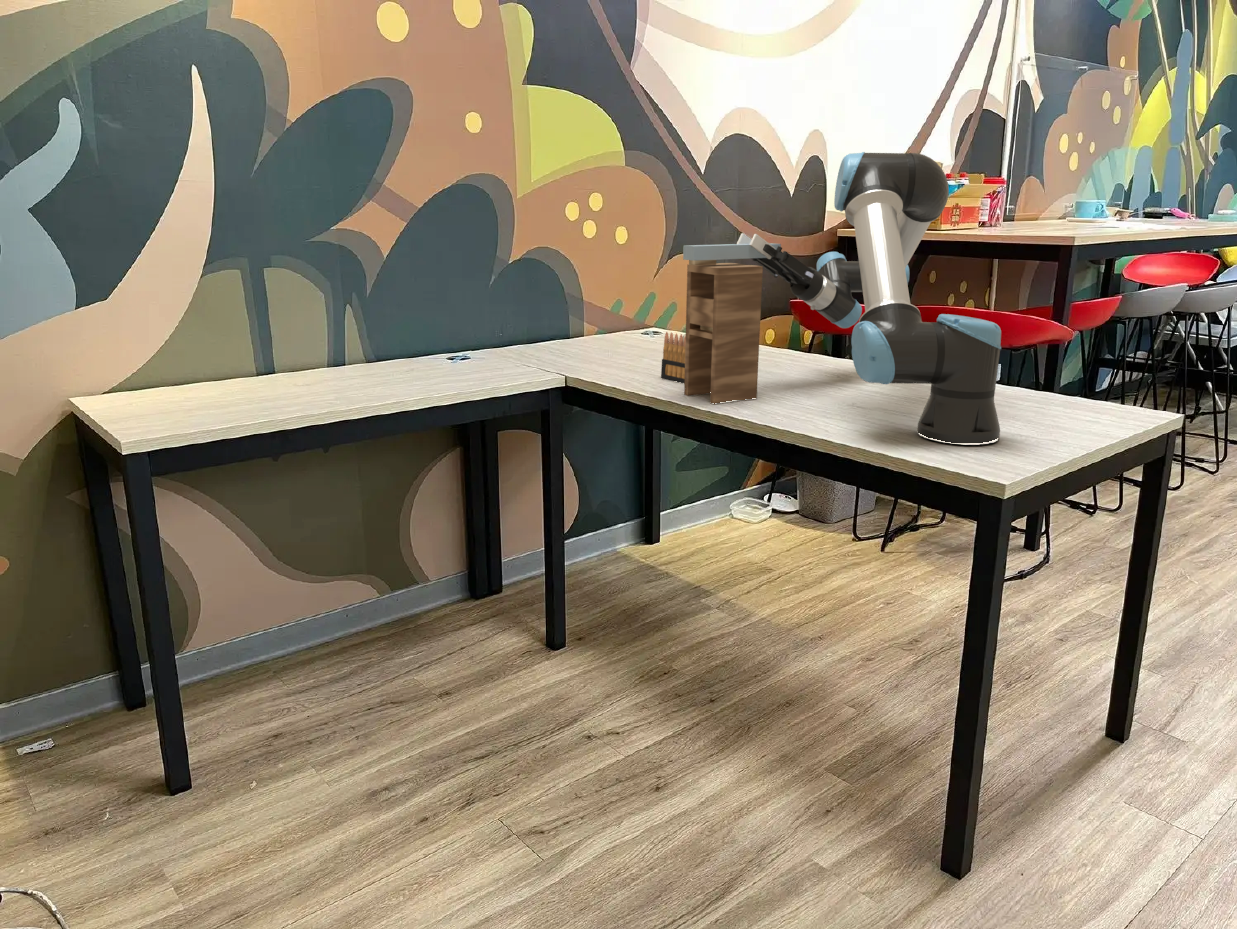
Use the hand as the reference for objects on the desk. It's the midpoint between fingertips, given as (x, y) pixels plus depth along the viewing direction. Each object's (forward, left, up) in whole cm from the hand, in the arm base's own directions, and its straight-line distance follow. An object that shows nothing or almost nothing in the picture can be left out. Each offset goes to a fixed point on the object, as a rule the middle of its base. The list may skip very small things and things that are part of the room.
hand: (746, 238), depth 210 cm
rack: (+3, +5, -36) cm, 36 cm away
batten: (+2, +3, -4) cm, 6 cm away
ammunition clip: (+20, -7, -36) cm, 42 cm away
